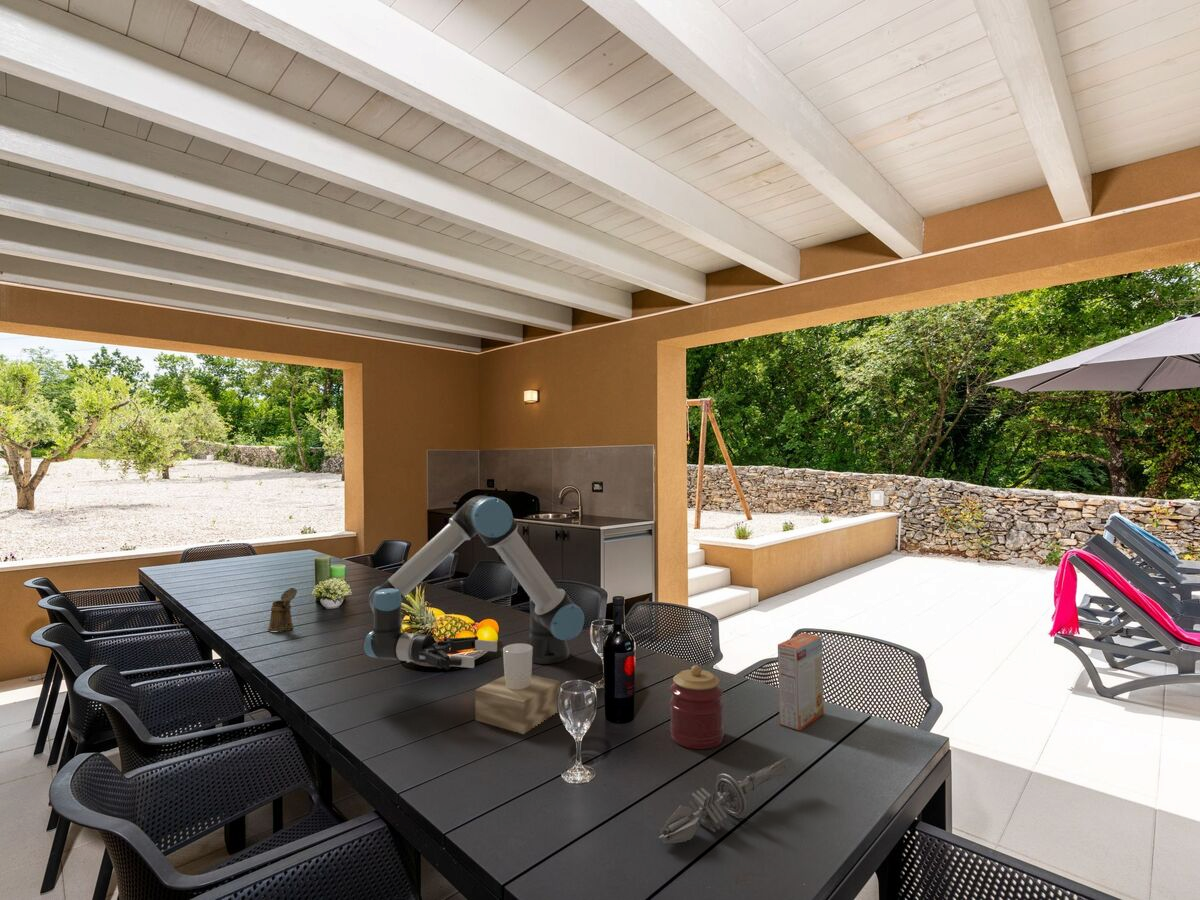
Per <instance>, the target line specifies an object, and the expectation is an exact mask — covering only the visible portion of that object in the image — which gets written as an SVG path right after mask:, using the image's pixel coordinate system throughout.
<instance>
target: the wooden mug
mask: <svg viewBox="0 0 1200 900" xmlns="http://www.w3.org/2000/svg"><path fill="white" fill-rule="evenodd" d="M297 591H298V589H296V588H293V587H290V588H289V589H286V590H285V591H284V592H283V593H282V594H281V595H280V600H275V601H273V602H272V605H271V607H270V610H271V612H270V617H269V618H270V619H269V626H268V628H267V631H268V630H269V631H284V630H288V629H291V628H292V629H293V628H294V623H293V622H292V621H293V620H292V614H291V613H292V611H291V609H292V607H291V601H292V600H293V599H294V598H295V597H296V595H297V593H298V592H297ZM292 629H291V630H292ZM288 631H289V630H288ZM284 632H285V631H284Z"/></svg>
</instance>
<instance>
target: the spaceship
mask: <svg viewBox="0 0 1200 900" xmlns="http://www.w3.org/2000/svg"><path fill="white" fill-rule="evenodd" d="M791 762H792V758H791V757H785V758H782V759H781V760H777V762H775V763H774V764H771V765H768V766H766V767H763V768H762V769H760V770H758V771H756V772H754V773H751V774H749V775H746V776H745V778H744V779H743V780H738V781H737V780H736V779H735V778H734V777H732V776H731V775H729V774H727V773H719V774H718V775H717V777H716V779H715V785H714V787H715V793H714V794H713V795H712V794H711V793H709V792H708V791H707V790H706V789H704V787H701V788H700V790H701V791H699V790H698V789H697V790H696V791H695V792H696V793H697V794H698V795H697V794H696V793H695V792H692V793H691V795H692V796H693V797H694V799H693V801H694V802H695V803H694V802H693V801H692V800H690V801H689V803H690V806H691V807H689V806H685V805H681V804H680V805H679V807H678V808H677V809H676V810H675V811H674V812H673V814H671V816H670V817H669V818H668V819H667V821H666V822H665V824H664V825H663V827H662V828H661V829H660V831H659V832H660V835H659V837H658V839H659V838H660V839H661V838H662V839H661V842H662V844H677V843H684V842H688V841H687V840H690V839H691V838H692V839H693V838H694V835H695V833H696V831H697V829H698V828H697V827H698V826H697V822H698V821H699V822H698V823H699V824H702V825H703V823H704V824H705V825H706V826H707V827H708V828H709V829H710V830H711V831H713V833H715V832H716V831H717V830H716V828H717V829H718V830H720V829H721V826H722V827H724V826H725V825H726V824H725V823H724V821H723V820H724V819H723V817H724V818H725V819H726V818H728V815H727V814H726V813H725V811H726V812H727V813H728V814H729V815H730V814H731V815H732V817H733V816H734V818H735V819H742V818H743V817H745V815H746V813H747V809H748V808H747V807H748V804H747V803H748V802H747V799H746V797H747V795H748V794H750V793H751V792H754V791H756V789H757V787H758V786H761V785H762V784H764V783H767V782H768V781H769V780H771V779H773V778H774V777H775V776H776V775H778V774H779V773H780V772H782V771H783V770H785V769H786V768H788V766H790V764H791ZM703 793H704V794H705V795H704V794H703ZM696 805H697V806H696ZM736 805H737V806H736ZM692 808H693V809H692ZM723 809H724V810H725V811H724V810H723ZM693 810H694V812H693ZM719 812H720V813H721V814H722V815H721V814H720V813H719ZM731 815H730V816H731ZM722 816H723V817H722ZM718 823H719V824H718ZM699 824H698V825H699ZM720 825H721V826H720ZM715 827H716V828H715ZM690 841H691V840H690Z"/></svg>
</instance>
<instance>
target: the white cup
mask: <svg viewBox="0 0 1200 900" xmlns="http://www.w3.org/2000/svg"><path fill="white" fill-rule="evenodd" d="M532 652H533V647H532V646H531V645H529V644H528V643H522V642H521V643H512V644H507V645H505V646H504V647H503V648H502V656H503V671H504V673H503V674H504V675H505V685H506V687H507V688H508V689H513V690H520V689H525V688H527V687H529V686H530V685H531V675H532V670H533V668H532V667H533V662H532Z"/></svg>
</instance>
